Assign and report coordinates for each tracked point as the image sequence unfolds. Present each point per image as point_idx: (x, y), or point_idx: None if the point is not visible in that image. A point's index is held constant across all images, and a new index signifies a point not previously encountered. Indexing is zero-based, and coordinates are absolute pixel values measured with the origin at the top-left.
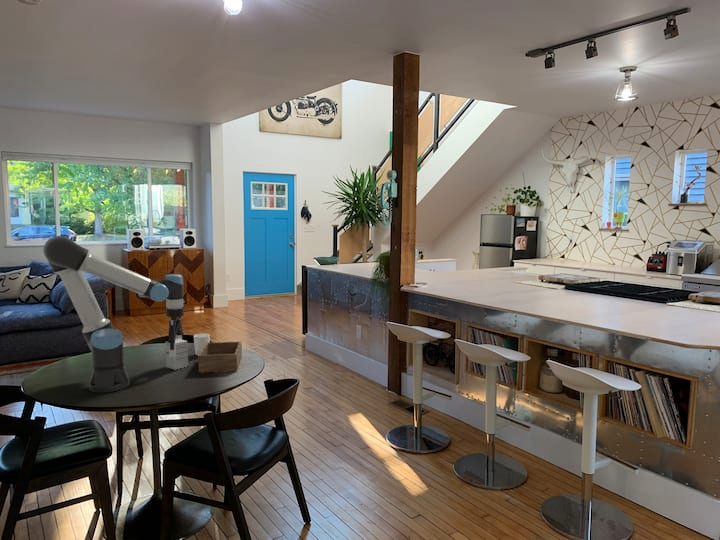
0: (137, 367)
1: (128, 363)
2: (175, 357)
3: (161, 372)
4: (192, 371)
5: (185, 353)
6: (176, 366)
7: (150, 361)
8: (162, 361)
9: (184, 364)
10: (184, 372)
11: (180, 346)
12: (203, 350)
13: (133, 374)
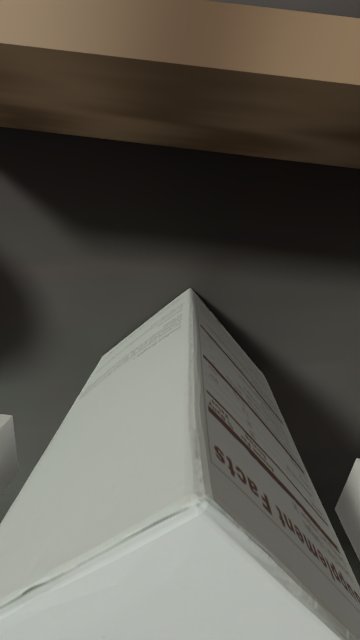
0: None
1: None
2: (291, 442)
3: None
4: (354, 242)
5: (218, 361)
6: (263, 379)
7: None
8: (23, 455)
9: (217, 323)
10: (352, 305)
11: (300, 517)
12: (339, 21)
13: None
